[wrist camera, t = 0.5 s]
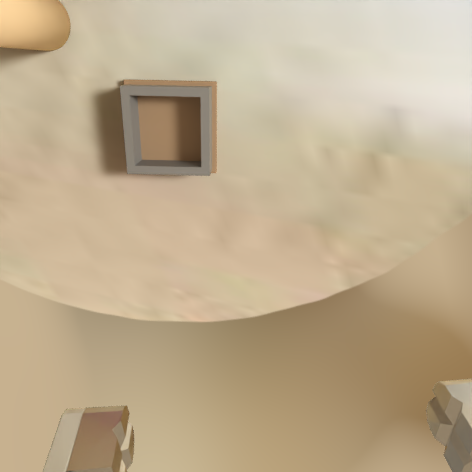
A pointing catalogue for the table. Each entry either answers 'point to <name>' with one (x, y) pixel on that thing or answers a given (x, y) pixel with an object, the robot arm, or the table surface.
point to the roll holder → (170, 127)
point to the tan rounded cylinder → (33, 24)
